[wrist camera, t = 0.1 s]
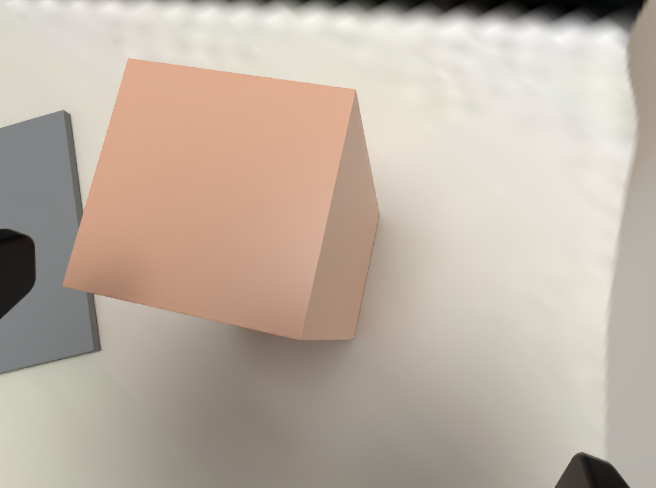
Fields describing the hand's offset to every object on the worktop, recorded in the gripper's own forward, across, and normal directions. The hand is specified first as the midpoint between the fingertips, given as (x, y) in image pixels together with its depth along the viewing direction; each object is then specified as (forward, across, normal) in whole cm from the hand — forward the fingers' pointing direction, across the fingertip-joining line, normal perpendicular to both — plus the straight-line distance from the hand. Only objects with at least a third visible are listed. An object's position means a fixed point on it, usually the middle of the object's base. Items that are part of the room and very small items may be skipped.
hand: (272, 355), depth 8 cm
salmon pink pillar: (+14, +3, +6) cm, 15 cm away
